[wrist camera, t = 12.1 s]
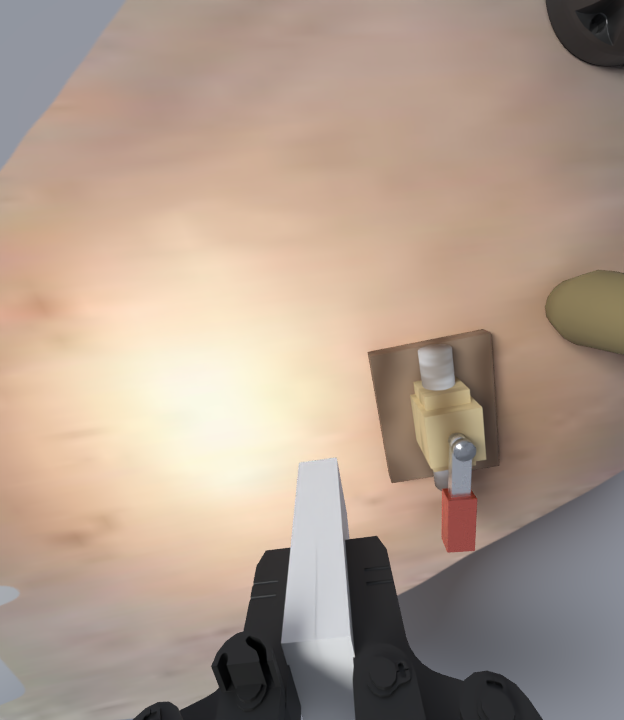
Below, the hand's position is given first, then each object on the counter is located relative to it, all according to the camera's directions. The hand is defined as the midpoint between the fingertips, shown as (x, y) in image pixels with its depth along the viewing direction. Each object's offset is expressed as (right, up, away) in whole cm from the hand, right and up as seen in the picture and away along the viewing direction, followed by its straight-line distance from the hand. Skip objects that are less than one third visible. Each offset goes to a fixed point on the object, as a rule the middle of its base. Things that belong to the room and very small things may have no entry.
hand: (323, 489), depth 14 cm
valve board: (+15, -1, +31) cm, 34 cm away
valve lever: (+16, -9, +25) cm, 31 cm away
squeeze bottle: (+30, +12, +27) cm, 42 cm away
